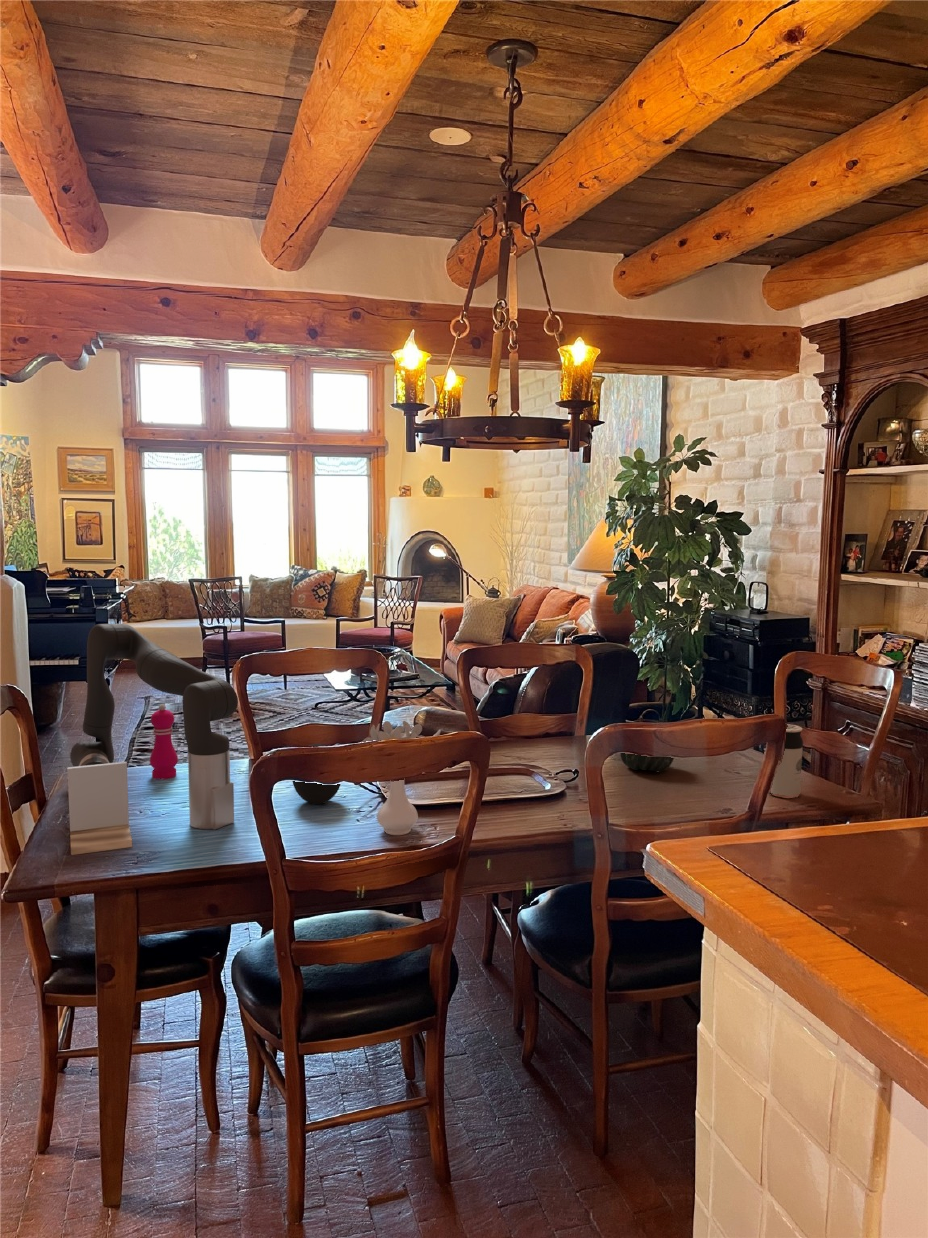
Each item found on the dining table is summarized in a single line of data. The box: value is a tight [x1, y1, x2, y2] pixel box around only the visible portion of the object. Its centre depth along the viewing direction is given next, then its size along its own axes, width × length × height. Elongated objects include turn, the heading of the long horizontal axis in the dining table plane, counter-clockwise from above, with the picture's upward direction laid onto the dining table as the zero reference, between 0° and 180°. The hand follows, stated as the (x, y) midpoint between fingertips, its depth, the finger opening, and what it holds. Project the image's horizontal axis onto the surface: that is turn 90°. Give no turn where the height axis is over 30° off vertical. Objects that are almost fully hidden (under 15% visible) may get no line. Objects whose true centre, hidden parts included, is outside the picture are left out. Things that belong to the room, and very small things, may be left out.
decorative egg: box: [292, 743, 342, 805], centre depth 217 cm, size 12×12×15 cm
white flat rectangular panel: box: [66, 761, 130, 833], centre depth 193 cm, size 1×12×14 cm, turn 115°
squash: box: [619, 721, 675, 773], centre depth 250 cm, size 14×15×15 cm
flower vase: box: [360, 720, 442, 836], centre depth 199 cm, size 13×18×25 cm
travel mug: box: [771, 723, 804, 796], centre depth 228 cm, size 8×8×18 cm
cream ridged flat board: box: [69, 823, 133, 856], centre depth 195 cm, size 20×12×2 cm, turn 25°
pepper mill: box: [149, 703, 179, 780], centre depth 238 cm, size 7×7×20 cm
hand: (97, 791), depth 200 cm, fingers closed
